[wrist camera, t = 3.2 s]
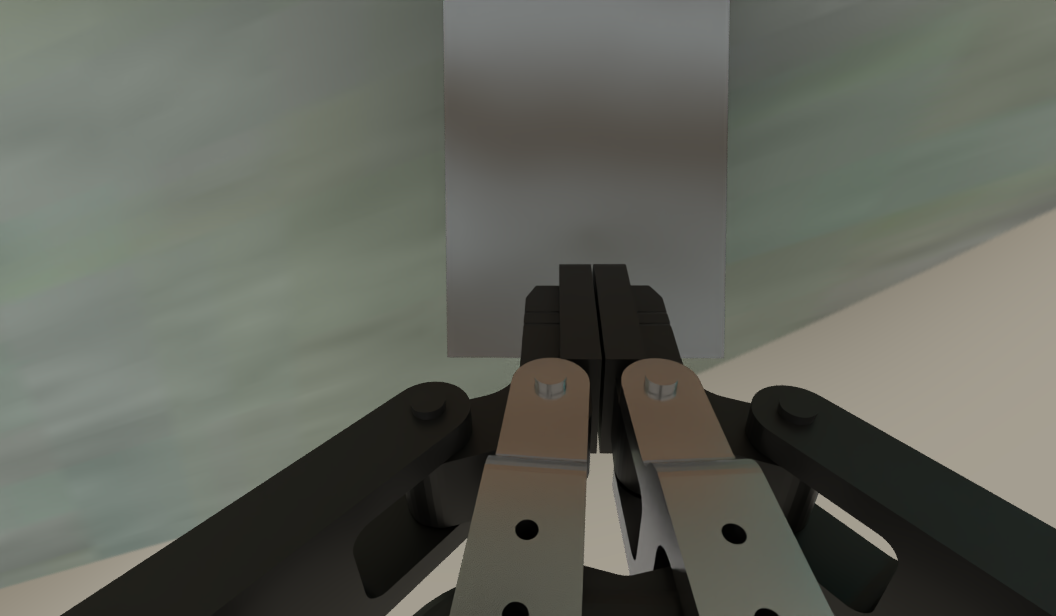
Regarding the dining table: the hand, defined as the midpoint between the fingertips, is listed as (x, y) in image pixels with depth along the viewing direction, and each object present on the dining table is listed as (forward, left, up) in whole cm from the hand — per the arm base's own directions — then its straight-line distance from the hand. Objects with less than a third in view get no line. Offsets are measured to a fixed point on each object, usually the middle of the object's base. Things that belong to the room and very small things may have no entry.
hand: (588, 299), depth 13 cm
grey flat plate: (-2, 0, -7) cm, 7 cm away
